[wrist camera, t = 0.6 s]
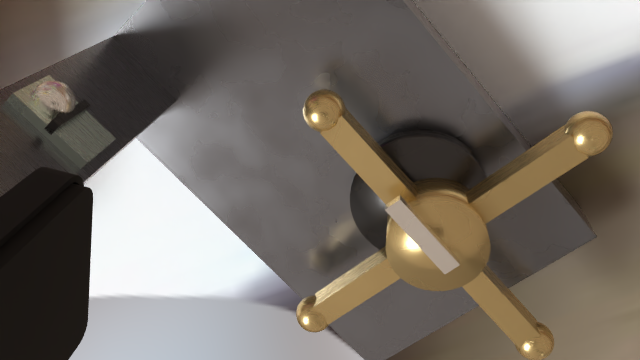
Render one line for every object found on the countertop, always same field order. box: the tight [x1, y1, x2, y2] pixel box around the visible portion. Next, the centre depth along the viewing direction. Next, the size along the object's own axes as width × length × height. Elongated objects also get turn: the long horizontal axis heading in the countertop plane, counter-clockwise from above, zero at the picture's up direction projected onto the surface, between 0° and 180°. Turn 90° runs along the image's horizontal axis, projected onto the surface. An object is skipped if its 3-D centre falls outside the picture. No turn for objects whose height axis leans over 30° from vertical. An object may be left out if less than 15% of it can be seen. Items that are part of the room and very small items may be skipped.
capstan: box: [296, 89, 613, 360], centre depth 27 cm, size 17×17×4 cm
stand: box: [0, 0, 597, 360], centre depth 24 cm, size 22×14×15 cm, turn 43°
